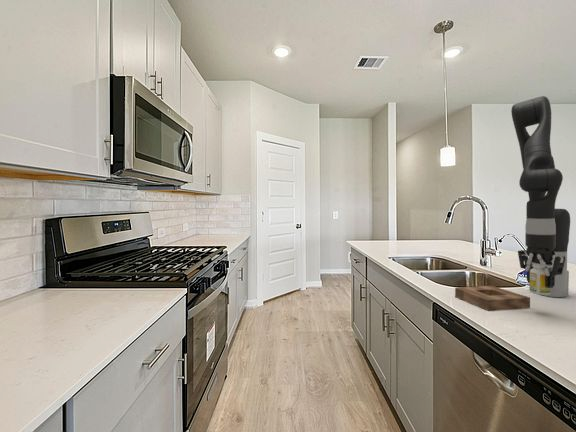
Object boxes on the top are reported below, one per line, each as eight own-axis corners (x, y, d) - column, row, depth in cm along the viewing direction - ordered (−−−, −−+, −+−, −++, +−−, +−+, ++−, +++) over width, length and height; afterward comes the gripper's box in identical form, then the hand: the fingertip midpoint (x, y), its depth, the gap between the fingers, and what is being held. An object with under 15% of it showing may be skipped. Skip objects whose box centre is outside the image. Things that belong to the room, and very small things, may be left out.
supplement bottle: (527, 292, 101) (527, 263, 101) (531, 289, 105) (531, 260, 104) (549, 296, 97) (549, 265, 97) (552, 292, 101) (552, 262, 100)
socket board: (492, 294, 123) (492, 285, 123) (530, 307, 107) (530, 297, 107) (455, 296, 120) (455, 287, 120) (488, 310, 104) (488, 300, 104)
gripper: (574, 233, 94) (573, 290, 95) (529, 230, 108) (528, 279, 109) (553, 235, 93) (553, 292, 93) (510, 231, 107) (510, 280, 107)
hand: (540, 284), depth 101 cm, fingers closed on supplement bottle, 5 cm apart
